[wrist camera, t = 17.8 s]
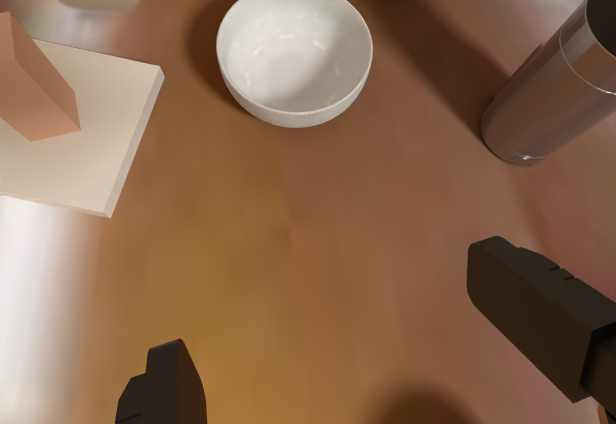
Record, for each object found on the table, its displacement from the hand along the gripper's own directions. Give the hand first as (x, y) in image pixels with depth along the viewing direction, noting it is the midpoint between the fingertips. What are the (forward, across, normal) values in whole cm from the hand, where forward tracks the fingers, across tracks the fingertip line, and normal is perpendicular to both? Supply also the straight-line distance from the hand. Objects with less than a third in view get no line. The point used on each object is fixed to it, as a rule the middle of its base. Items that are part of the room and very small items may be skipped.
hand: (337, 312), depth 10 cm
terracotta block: (+40, +18, -1) cm, 44 cm away
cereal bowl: (+41, -9, +2) cm, 42 cm away
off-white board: (+42, +18, +1) cm, 45 cm away
